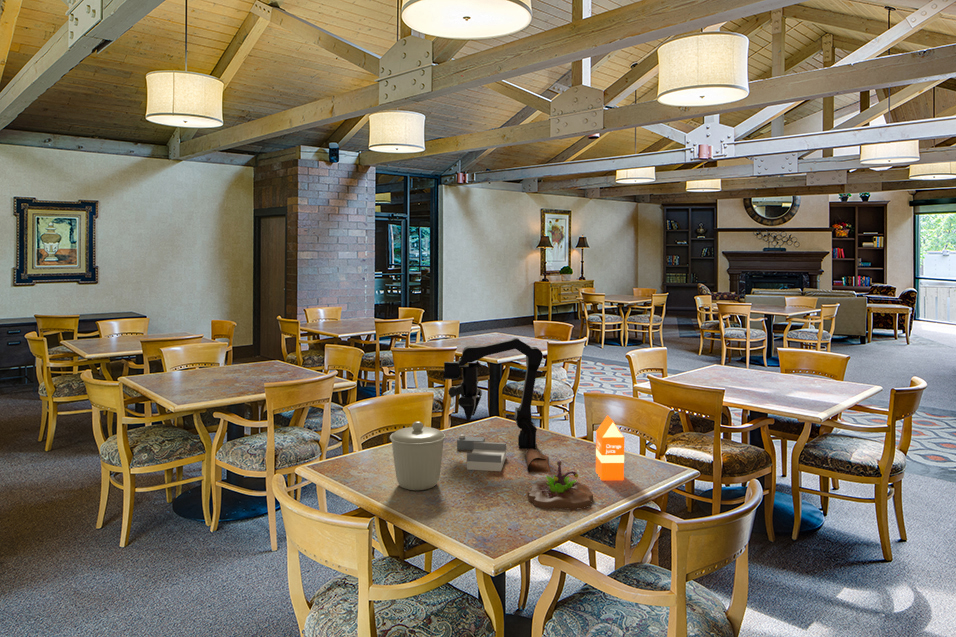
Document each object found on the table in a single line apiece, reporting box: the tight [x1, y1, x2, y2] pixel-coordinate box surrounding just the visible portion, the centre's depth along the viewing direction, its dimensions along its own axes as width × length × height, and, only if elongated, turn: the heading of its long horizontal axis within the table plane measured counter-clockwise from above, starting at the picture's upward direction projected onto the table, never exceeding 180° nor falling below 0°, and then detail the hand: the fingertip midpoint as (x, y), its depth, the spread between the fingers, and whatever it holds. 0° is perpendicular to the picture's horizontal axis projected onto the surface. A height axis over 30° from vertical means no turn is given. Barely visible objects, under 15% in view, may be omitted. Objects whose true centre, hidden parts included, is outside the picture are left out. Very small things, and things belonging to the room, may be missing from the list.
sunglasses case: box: [525, 449, 551, 473], centre depth 227 cm, size 18×7×7 cm
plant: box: [526, 460, 594, 510], centre depth 195 cm, size 20×20×11 cm
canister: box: [389, 420, 447, 491], centre depth 204 cm, size 18×18×21 cm
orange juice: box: [595, 415, 625, 481], centre depth 213 cm, size 8×9×20 cm
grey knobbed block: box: [456, 433, 486, 451], centre depth 247 cm, size 10×6×5 cm, turn 79°
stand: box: [466, 441, 507, 472], centre depth 228 cm, size 12×16×6 cm
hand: (470, 418), depth 246 cm, fingers open, 9 cm apart
